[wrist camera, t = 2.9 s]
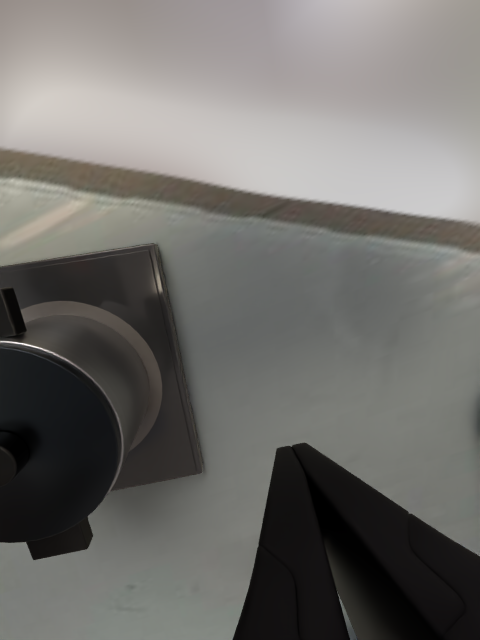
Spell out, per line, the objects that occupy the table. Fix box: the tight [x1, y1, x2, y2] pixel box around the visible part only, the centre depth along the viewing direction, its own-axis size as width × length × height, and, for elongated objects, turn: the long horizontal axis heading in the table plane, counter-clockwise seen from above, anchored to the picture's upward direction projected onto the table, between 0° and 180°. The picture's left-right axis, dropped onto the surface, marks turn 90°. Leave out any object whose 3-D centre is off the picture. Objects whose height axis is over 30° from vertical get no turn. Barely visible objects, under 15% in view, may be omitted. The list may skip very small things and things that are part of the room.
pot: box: [0, 287, 149, 560], centre depth 13 cm, size 8×12×6 cm
